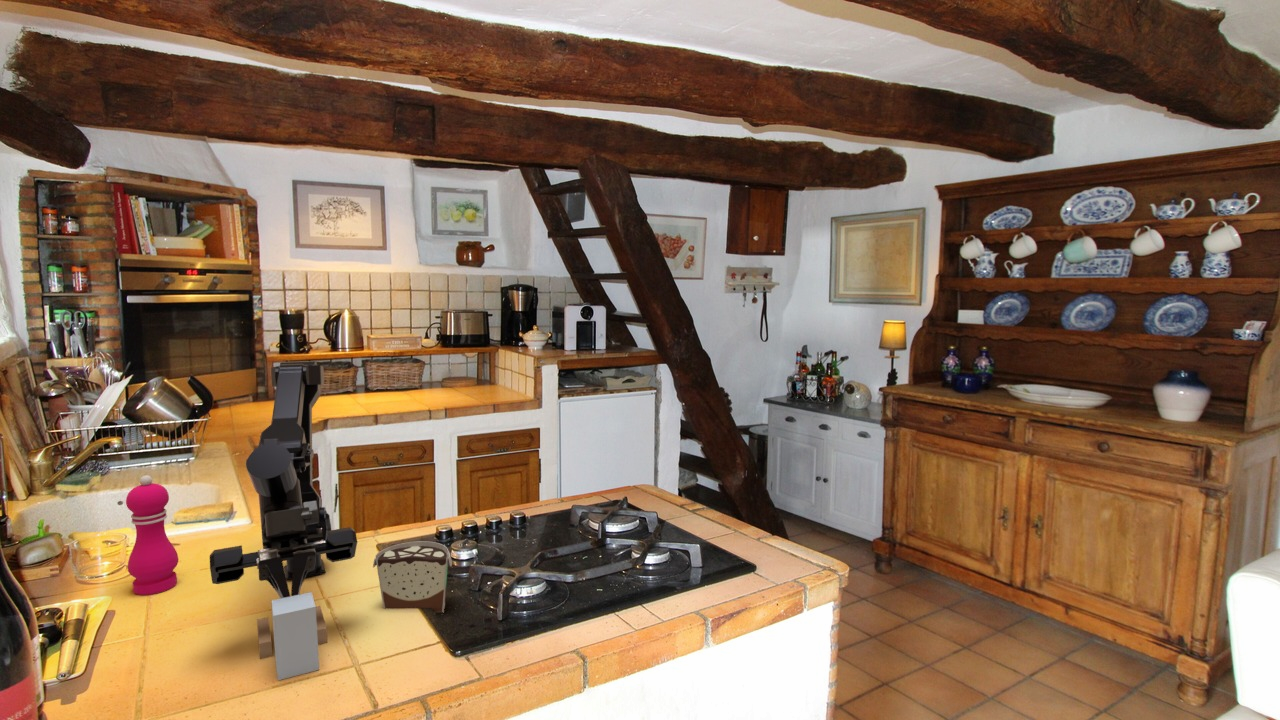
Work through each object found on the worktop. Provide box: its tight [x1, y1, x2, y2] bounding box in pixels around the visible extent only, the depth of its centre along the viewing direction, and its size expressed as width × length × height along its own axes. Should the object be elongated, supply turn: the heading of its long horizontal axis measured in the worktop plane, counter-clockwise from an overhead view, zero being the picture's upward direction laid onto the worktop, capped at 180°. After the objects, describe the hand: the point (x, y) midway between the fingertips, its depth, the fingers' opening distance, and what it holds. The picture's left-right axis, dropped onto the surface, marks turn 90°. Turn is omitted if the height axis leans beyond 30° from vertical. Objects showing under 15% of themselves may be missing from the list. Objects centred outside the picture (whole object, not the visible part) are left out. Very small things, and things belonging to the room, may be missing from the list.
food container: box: [372, 540, 453, 614], centre depth 115 cm, size 12×6×10 cm, turn 92°
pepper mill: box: [125, 474, 179, 596], centre depth 121 cm, size 7×7×20 cm
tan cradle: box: [256, 605, 328, 660], centre depth 100 cm, size 15×9×3 cm, turn 30°
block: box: [270, 591, 320, 681], centre depth 95 cm, size 5×5×9 cm
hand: (291, 611), depth 97 cm, fingers closed, pressing on block
